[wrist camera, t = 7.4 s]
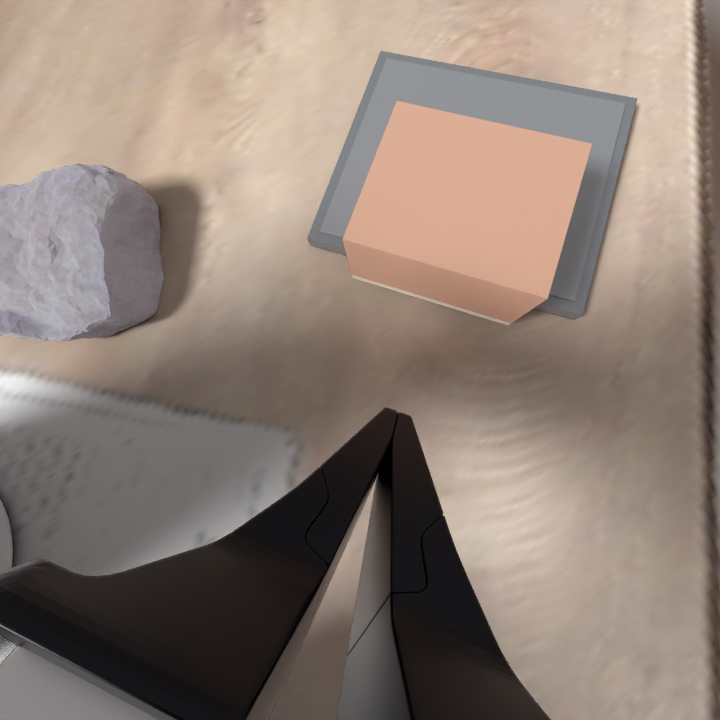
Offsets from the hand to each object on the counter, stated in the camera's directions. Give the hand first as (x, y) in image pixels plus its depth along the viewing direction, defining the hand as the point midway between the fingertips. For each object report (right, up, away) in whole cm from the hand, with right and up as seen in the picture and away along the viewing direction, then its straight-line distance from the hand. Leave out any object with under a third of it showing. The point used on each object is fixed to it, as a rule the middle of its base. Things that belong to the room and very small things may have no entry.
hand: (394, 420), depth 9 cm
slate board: (+6, +13, +9) cm, 17 cm away
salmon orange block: (+3, +5, +5) cm, 8 cm away
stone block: (-20, +7, +11) cm, 24 cm away
